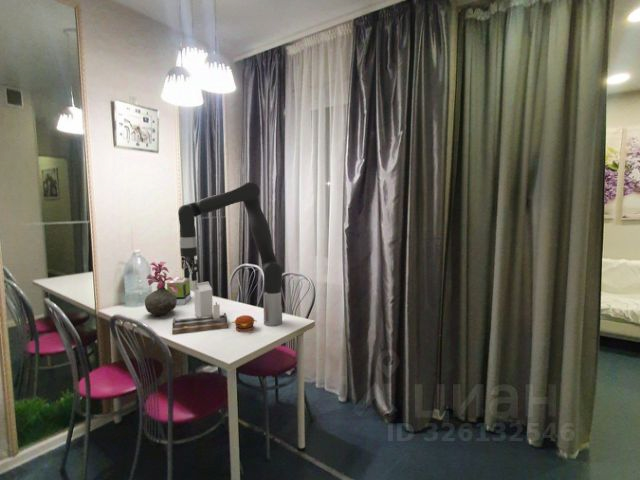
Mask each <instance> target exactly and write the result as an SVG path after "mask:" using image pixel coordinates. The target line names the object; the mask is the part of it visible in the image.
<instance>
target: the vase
mask: <svg viewBox="0 0 640 480" xmlns="http://www.w3.org/2000/svg"><path fill="white" fill-rule="evenodd" d="M166 263H167V262H166V261H165V262H164V261H160V262H159V263H156V262H155V261H153V262H151V263H149V264H150V265H151V266H153V267H151V271H152V272H154V275H152V274H151V273H149V274H147V277H146V279H147V280H148V281H147V282H148V283H147V284H148V285H149V286H151V285H152V284H153V283H157V285H156V290H155V291H152V292H151V293H149V294H148V295H147V296H146V297H145V299H144V304H145V305H144V306H145V310H146V311H147V312H148V313H150V314H151V315H154V316H155V317H164V316H167V315H169V314H170V313H171V312H172V311H174V310H175V309H176V306H177V305H176V304H177V298H176V296H175V294H174V293H173V292H176V293H178V289H177V288H176V287H175V286H173V285H169V286H170V288H171V289H172V291H173V292H171V291H169V290H167V288H166V281H170V280H173V278H172V277H171V276H170V277H169V276H168V274H167V273H166V272H168V273H170V271H169V269H168V267H166V266H164V265H165V264H166ZM161 272H162V273H163V274H161ZM173 281H174V280H173Z"/></svg>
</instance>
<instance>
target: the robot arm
mask: <svg viewBox="0 0 640 480" xmlns="http://www.w3.org/2000/svg"><path fill="white" fill-rule="evenodd" d="M260 193H261V189H260V186H258V185H257V183H255V182H253V181H248V182H245V183H243V185H241V186H238V187H237V188H234V189H232V190H230V191H226V192H223V193H219V194H215V195H210V196H208V197H204V198H202V199H200V200H198V201H193V202H191V203H186V204H183V205H180V207H179V208H178V211H177V212H178V214H177V215H178V222H179V223H178V224H179V250H180V251H179V252H180V257H181V258H180V259H181V261H180V263H181V264H180V265H181V269H182V270H183V275H184V276H183V277H184V278H189V277H190V275H191V281H192V282H196V281H197V279H198V277H197V274H198V273H199V270H200V269H199V259H195V257H196V256H198V243H197V242H198V240H197V235H196V234H197V233H196V226H195V217H198V216H200V215H205V214H209V213H212V212H214V211H215V212H216V211H218V210H220V209H223V208H225V207H228V206H231V205H234V204H237V203H241V202H243V204H244V207H245V209H246V212H247V217H248V218H247V219H248V223H249V226H250V231H251V235H252V238H253V241H254V243H255V246H256V248H257V251H258V253H259V256H260V260H261V261H260V262H261V266H262V271H263V325H265V326H270V327H276V326H279V325H281V324H283V306H282V285H283V270H282V266H281V265H280V264H279V262H278V261H277V258H276V255H275V252H274V249H273V238H272V233H271V229H270V226H269V223H268V220H267V219H266V215H265V214H264V212H263V210H262V207H261V204H260V199H259V196H260V195H261V194H260ZM190 272H191V274H190Z"/></svg>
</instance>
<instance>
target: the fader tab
mask: <svg viewBox="0 0 640 480" xmlns="http://www.w3.org/2000/svg"><path fill="white" fill-rule="evenodd" d="M212 304H213V315H212V316H213V318H214V319H220V315H221V310H220V309H221V308H220V306H221V305H220V302H219V301H214V302H212Z"/></svg>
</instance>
